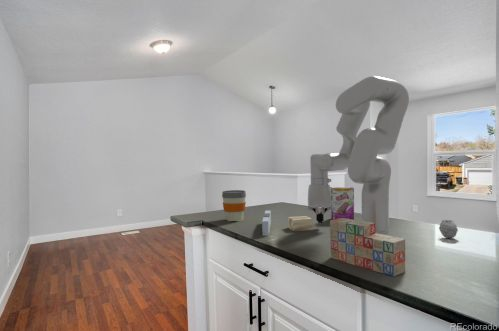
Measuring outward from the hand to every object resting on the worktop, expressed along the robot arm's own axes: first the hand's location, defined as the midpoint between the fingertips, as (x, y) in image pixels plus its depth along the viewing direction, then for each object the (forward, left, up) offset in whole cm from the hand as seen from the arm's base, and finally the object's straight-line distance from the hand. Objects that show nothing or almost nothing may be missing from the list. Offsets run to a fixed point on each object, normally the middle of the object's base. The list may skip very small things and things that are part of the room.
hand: (320, 222), depth 141 cm
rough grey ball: (-16, -46, -3) cm, 49 cm away
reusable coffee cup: (+20, +42, -3) cm, 46 cm away
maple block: (0, +9, -3) cm, 9 cm away
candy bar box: (+20, -13, -3) cm, 24 cm away
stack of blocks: (-46, -8, -3) cm, 47 cm away
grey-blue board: (0, +24, -3) cm, 24 cm away
